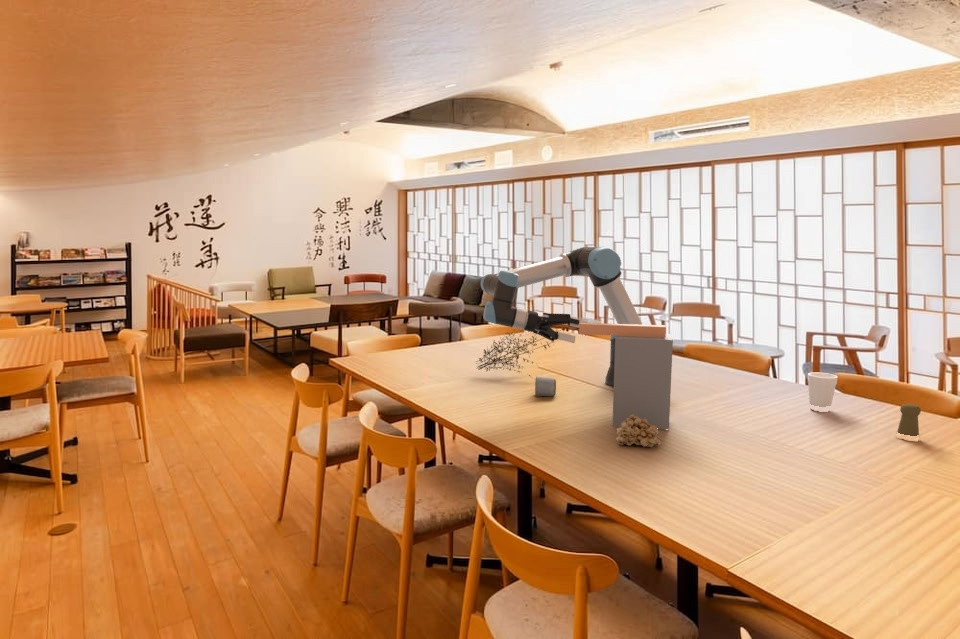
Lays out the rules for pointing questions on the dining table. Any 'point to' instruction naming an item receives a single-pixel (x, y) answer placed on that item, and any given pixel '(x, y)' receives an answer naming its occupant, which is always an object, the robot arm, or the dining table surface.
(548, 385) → the ceramic mug
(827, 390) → the foam cup
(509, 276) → the robot arm
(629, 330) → the rail
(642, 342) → the stand
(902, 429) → the olive pepper mill
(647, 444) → the mineral formation
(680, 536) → the dining table surface
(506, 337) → the dried plant
